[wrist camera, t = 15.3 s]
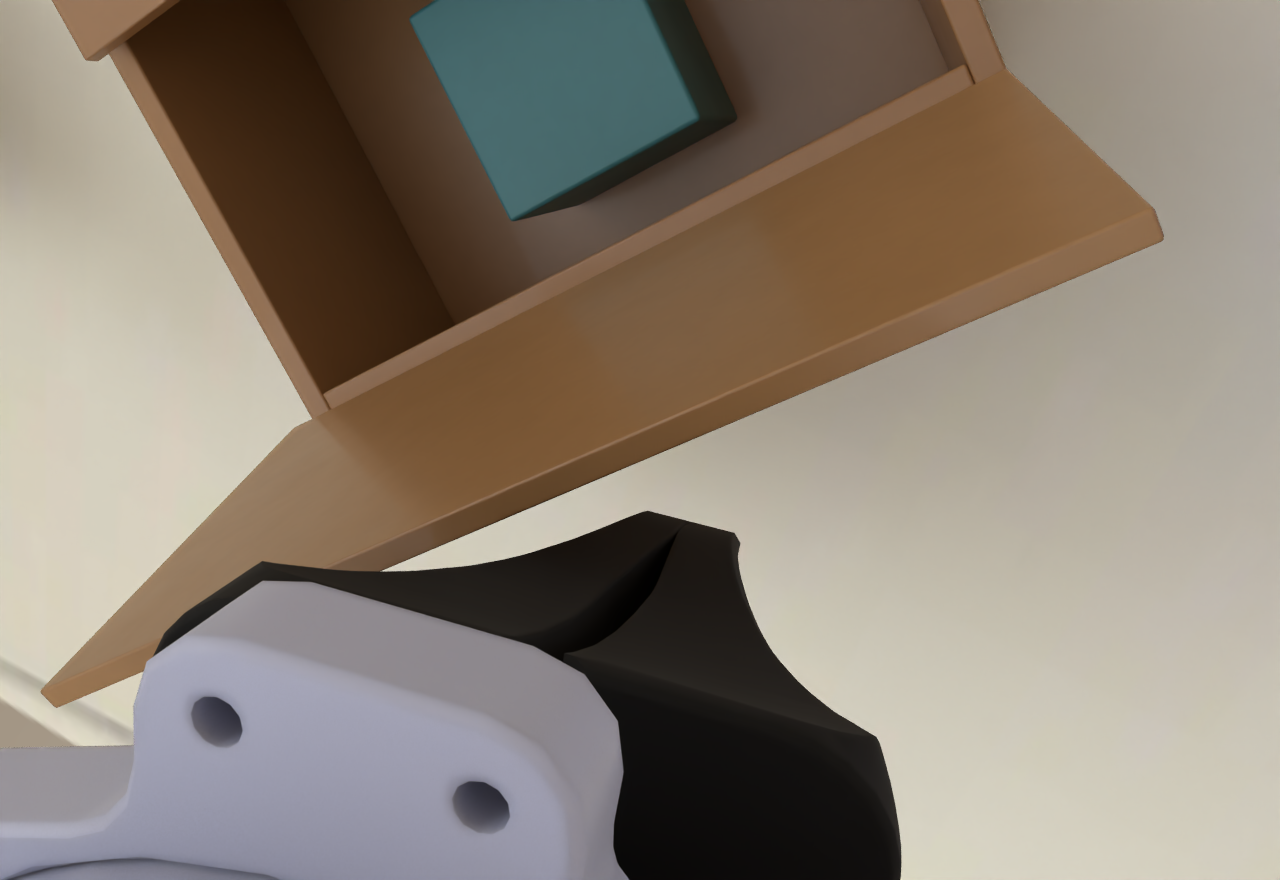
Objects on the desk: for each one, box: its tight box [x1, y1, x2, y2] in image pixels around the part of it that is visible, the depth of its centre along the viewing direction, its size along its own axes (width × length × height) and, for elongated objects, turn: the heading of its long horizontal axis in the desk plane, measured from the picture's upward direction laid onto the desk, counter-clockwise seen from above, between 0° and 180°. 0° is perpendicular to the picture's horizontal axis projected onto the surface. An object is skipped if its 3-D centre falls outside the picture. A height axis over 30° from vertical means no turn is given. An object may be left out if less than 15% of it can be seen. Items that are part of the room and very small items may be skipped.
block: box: [409, 0, 737, 221], centre depth 20 cm, size 4×4×4 cm
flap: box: [41, 69, 1164, 708], centre depth 13 cm, size 7×13×1 cm
